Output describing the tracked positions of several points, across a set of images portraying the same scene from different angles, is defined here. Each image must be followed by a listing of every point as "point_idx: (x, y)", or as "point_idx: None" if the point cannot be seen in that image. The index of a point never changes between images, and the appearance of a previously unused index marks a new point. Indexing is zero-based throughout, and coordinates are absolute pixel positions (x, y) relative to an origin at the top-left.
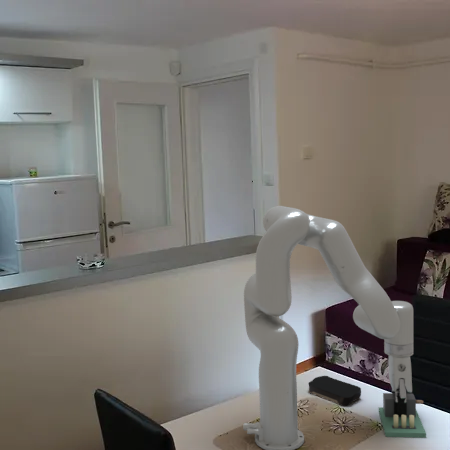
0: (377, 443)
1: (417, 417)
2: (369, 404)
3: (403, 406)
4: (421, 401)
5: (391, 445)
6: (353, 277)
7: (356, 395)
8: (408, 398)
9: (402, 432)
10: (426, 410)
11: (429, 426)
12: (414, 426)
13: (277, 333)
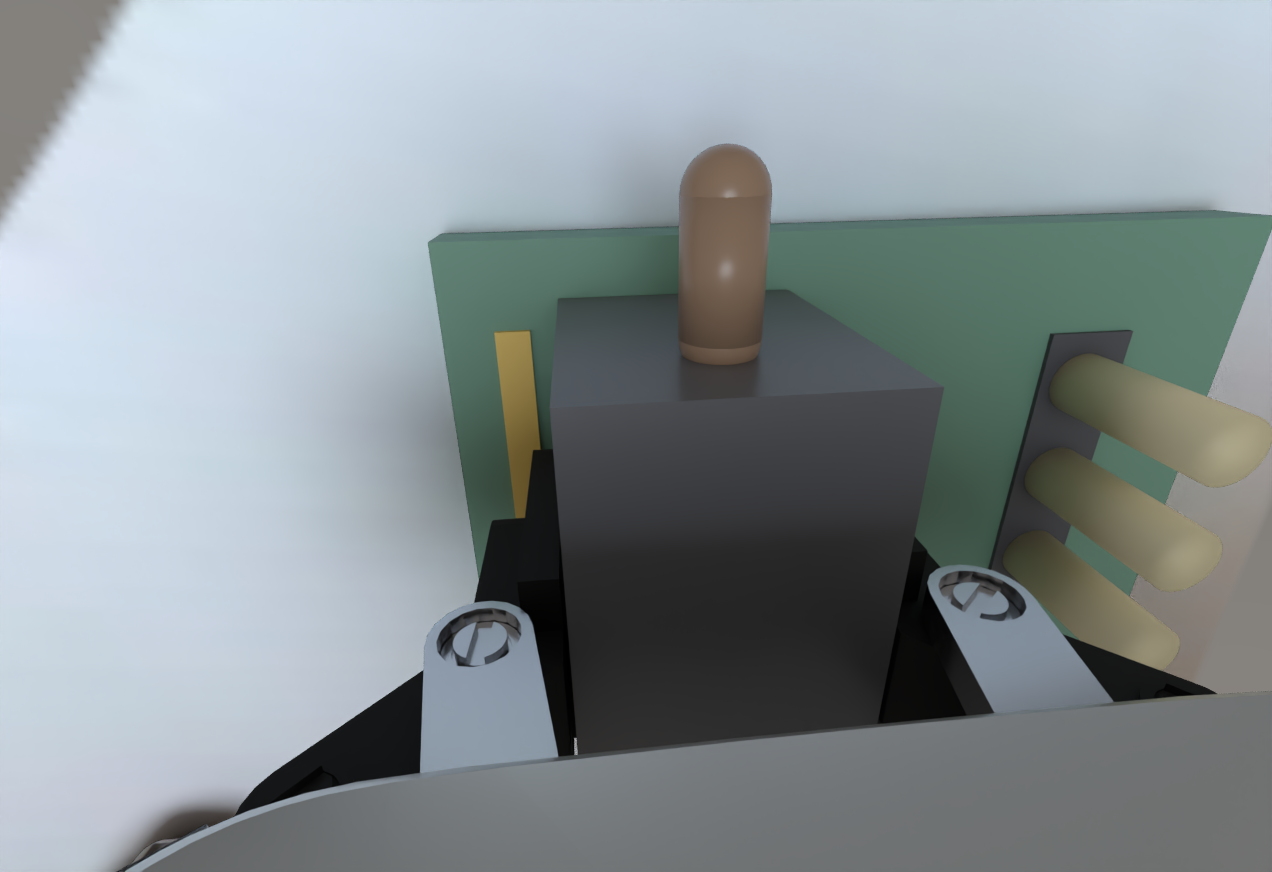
0: (1168, 667)
1: (788, 262)
2: (323, 735)
3: (931, 566)
4: (769, 197)
5: (1240, 570)
6: None
7: None
8: (860, 538)
9: (1162, 494)
10: (324, 20)
11: (919, 94)
12: (1071, 347)
13: None
